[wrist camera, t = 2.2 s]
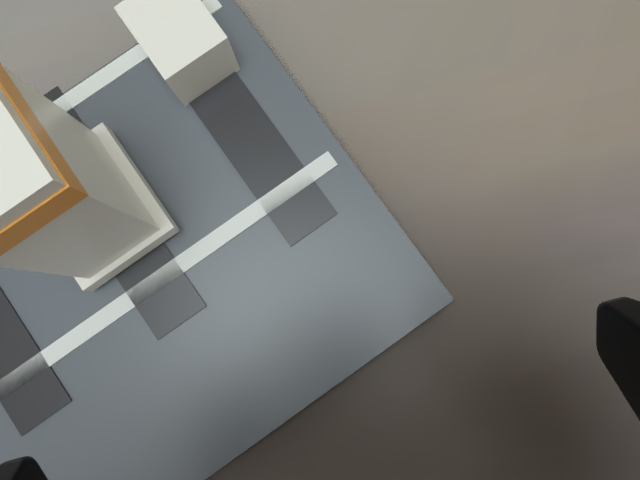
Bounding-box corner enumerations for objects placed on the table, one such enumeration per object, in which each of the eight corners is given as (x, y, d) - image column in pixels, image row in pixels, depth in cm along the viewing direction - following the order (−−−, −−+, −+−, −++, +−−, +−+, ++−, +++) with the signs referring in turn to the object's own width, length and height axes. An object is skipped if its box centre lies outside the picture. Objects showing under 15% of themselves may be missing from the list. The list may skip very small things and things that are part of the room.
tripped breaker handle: (180, 230, 20) (74, 176, 12) (92, 291, 20) (-75, 278, 12) (111, 129, 21) (-36, 10, 13) (25, 187, 21) (-181, 107, 12)
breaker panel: (446, 300, 22) (471, 298, 18) (79, 565, 21) (19, 625, 17) (226, 0, 23) (203, -64, 19) (-123, 236, 22) (-221, 220, 18)
